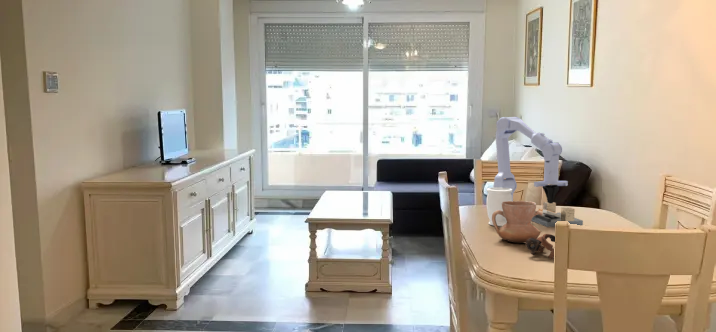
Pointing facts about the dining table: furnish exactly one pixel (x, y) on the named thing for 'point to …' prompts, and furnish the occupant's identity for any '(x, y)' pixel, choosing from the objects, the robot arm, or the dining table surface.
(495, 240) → the dining table surface
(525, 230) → the ceramic jug
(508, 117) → the robot arm
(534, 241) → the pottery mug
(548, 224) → the panel
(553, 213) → the paddle white
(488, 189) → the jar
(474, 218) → the dining table surface
